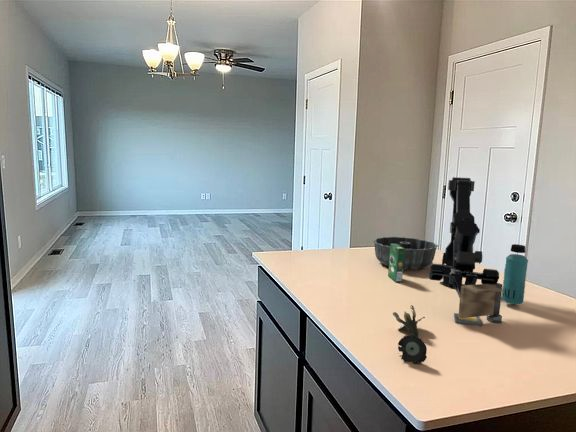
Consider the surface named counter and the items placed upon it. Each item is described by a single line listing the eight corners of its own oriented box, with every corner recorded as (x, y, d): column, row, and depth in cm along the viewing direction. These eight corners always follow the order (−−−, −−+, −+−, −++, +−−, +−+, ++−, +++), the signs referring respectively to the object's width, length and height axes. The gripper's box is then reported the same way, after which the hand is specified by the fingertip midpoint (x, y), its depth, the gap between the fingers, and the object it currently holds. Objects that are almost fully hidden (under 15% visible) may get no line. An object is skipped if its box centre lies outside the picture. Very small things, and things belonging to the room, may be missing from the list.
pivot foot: (492, 317, 129) (493, 311, 129) (504, 321, 126) (505, 316, 126) (483, 319, 128) (483, 313, 127) (495, 324, 124) (496, 318, 124)
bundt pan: (386, 254, 204) (388, 233, 203) (443, 264, 189) (445, 241, 187) (361, 265, 183) (363, 242, 181) (423, 278, 168) (425, 252, 166)
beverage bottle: (521, 303, 142) (528, 243, 139) (524, 310, 136) (532, 248, 132) (499, 300, 144) (505, 241, 141) (501, 307, 138) (508, 245, 134)
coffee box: (402, 282, 161) (405, 248, 159) (395, 282, 160) (397, 248, 158) (394, 276, 169) (397, 243, 166) (387, 276, 168) (389, 243, 166)
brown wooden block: (495, 312, 128) (498, 280, 126) (512, 321, 121) (516, 288, 120) (456, 315, 124) (459, 283, 123) (473, 325, 118) (476, 291, 116)
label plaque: (479, 318, 128) (479, 315, 128) (481, 326, 122) (482, 323, 122) (453, 315, 130) (454, 312, 130) (455, 322, 124) (455, 320, 124)
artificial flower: (390, 366, 101) (381, 323, 102) (401, 339, 122) (394, 304, 123) (429, 363, 98) (420, 319, 98) (434, 336, 119) (426, 300, 119)
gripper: (432, 237, 129) (430, 284, 120) (501, 242, 123) (504, 292, 115) (430, 256, 137) (427, 301, 129) (494, 262, 132) (496, 309, 124)
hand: (462, 301), depth 124 cm, fingers closed
